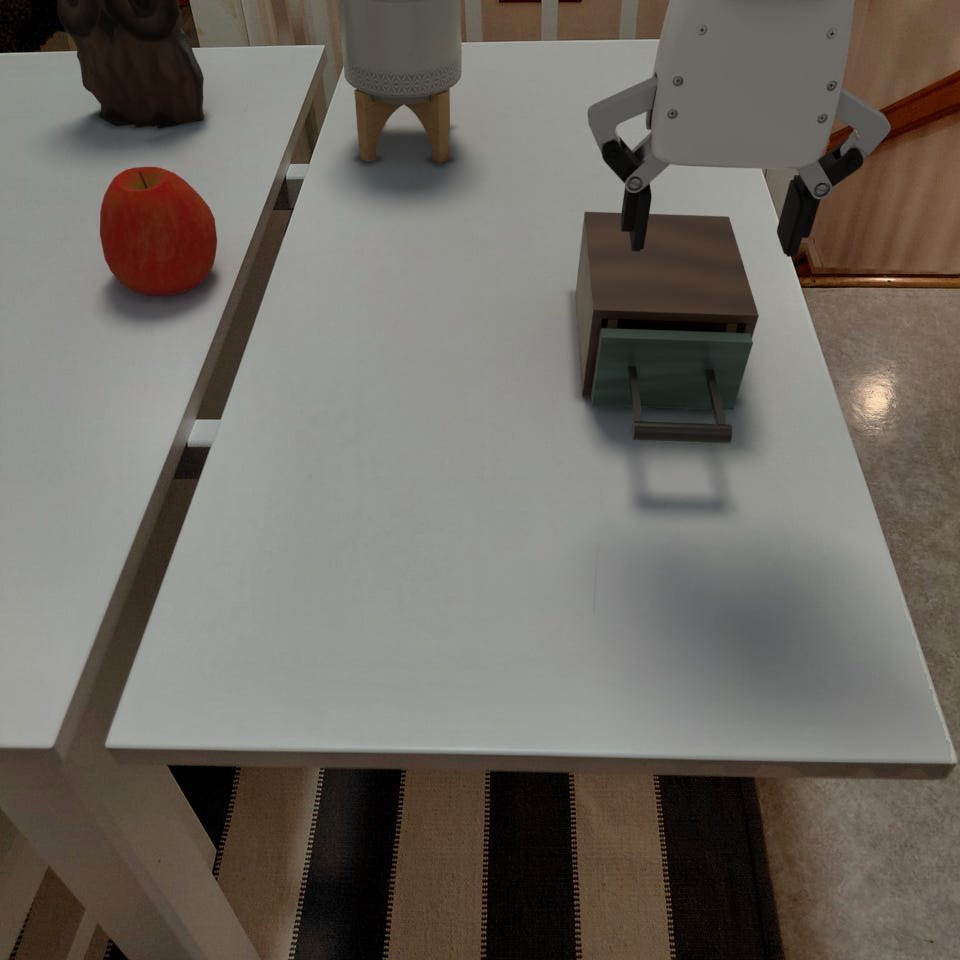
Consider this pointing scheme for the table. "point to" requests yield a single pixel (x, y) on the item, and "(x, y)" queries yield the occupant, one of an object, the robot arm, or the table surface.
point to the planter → (402, 65)
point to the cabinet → (658, 277)
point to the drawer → (671, 374)
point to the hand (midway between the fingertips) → (710, 242)
